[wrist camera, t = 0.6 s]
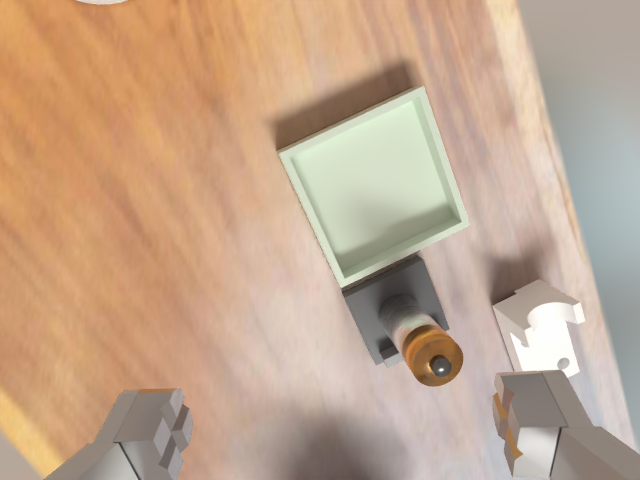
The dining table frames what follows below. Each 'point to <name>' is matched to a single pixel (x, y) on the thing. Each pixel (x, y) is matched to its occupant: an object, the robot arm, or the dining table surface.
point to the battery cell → (420, 341)
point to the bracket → (539, 328)
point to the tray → (376, 185)
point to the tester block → (377, 290)
